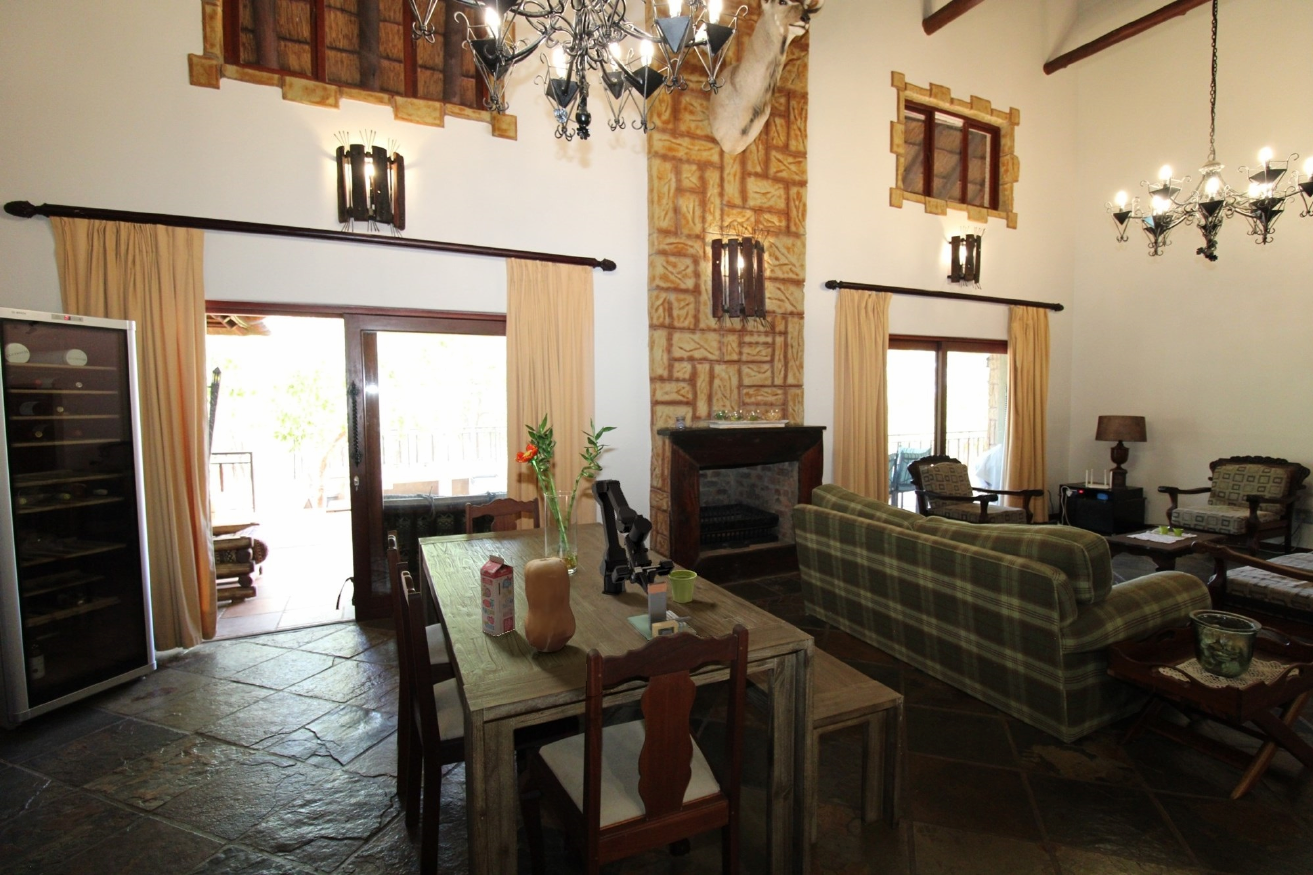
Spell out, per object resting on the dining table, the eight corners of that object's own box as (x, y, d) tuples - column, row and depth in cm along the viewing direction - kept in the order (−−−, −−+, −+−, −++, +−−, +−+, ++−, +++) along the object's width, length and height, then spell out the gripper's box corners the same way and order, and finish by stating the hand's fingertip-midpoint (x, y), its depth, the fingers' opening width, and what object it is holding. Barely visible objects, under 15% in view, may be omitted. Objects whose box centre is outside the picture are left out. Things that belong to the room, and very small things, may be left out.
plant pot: (694, 606, 195) (694, 579, 194) (665, 604, 197) (665, 578, 196) (698, 596, 204) (698, 570, 203) (671, 594, 206) (670, 569, 205)
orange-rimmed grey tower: (648, 628, 175) (647, 583, 174) (688, 620, 180) (688, 577, 179) (658, 637, 168) (658, 592, 167) (700, 629, 173) (700, 585, 172)
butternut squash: (543, 636, 172) (541, 549, 170) (585, 643, 167) (583, 554, 165) (514, 656, 160) (511, 563, 157) (558, 664, 154) (555, 568, 152)
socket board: (627, 620, 183) (627, 606, 183) (669, 612, 189) (669, 599, 189) (650, 643, 167) (650, 628, 167) (696, 634, 172) (696, 619, 172)
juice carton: (501, 624, 181) (498, 552, 179) (515, 629, 177) (512, 555, 175) (482, 631, 176) (479, 557, 174) (496, 637, 172) (493, 561, 170)
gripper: (657, 559, 197) (671, 604, 188) (602, 567, 189) (614, 613, 180) (667, 541, 189) (683, 587, 180) (610, 548, 182) (623, 596, 173)
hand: (651, 596), depth 178 cm, fingers closed
